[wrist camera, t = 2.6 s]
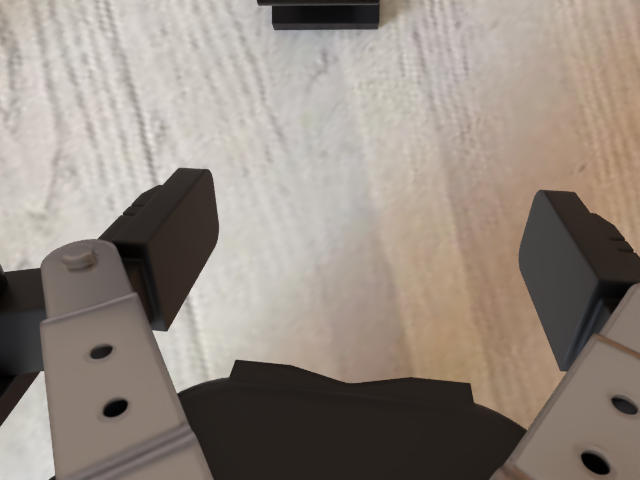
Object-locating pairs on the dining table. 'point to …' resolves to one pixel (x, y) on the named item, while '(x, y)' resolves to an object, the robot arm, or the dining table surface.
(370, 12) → the black lever stand
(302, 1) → the lever with crossbar handle
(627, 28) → the dining table surface
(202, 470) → the robot arm
